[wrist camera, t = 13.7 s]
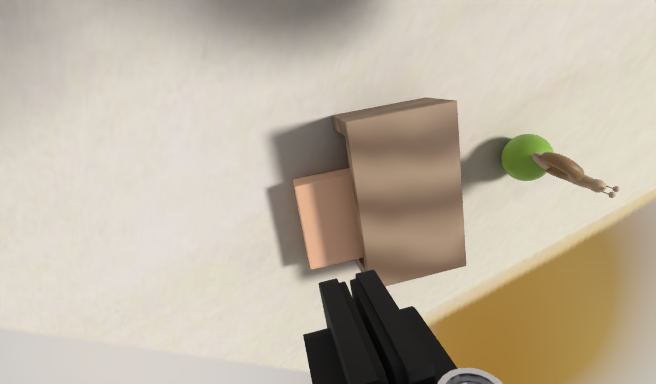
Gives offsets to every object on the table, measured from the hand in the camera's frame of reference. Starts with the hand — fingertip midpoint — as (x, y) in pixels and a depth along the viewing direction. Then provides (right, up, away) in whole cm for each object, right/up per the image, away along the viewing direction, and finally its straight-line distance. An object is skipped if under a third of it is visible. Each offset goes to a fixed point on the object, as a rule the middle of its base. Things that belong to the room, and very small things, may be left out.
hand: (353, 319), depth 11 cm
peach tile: (+3, +2, +34) cm, 35 cm away
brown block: (+6, +5, +34) cm, 35 cm away
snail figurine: (+22, +8, +36) cm, 43 cm away
